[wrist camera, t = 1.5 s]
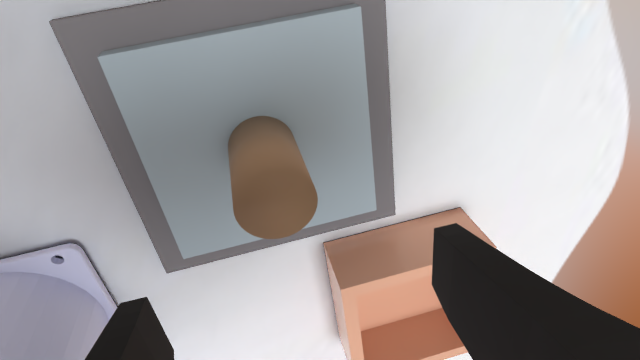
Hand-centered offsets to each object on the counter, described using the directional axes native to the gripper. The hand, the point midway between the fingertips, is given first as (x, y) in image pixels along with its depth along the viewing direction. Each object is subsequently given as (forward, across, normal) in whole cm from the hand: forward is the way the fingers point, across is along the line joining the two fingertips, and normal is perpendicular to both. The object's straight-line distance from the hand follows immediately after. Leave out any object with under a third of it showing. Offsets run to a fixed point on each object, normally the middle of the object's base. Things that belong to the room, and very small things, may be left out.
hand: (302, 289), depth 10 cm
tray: (+10, -6, +11) cm, 16 cm away
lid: (+9, 0, 0) cm, 9 cm away
